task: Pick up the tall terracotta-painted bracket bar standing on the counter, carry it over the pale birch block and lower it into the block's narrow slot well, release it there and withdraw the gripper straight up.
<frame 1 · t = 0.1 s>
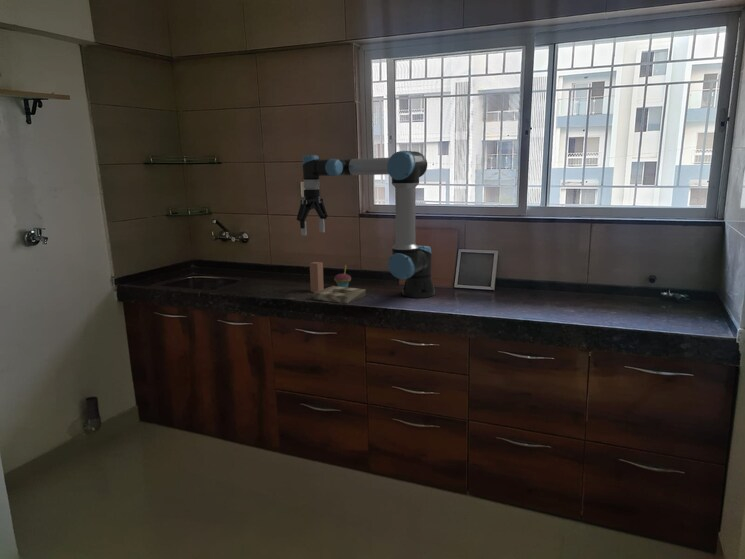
hand: (313, 233, 251), 28 cm above the worktop, fingers open, 13 cm apart
bracket bar: (317, 291, 254), on the worktop
cupcake: (342, 288, 261), on the worktop
well block: (340, 297, 241), on the worktop
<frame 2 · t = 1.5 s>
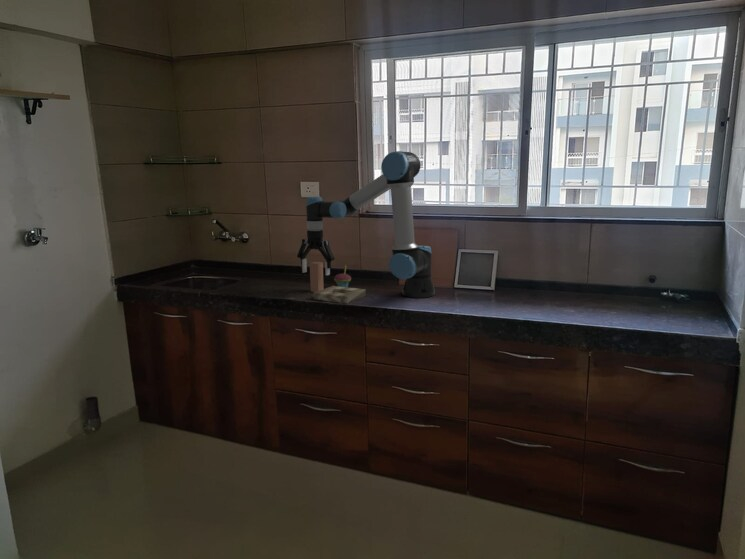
hand: (316, 273, 252), 9 cm above the worktop, fingers open, 13 cm apart
nothing on the worktop moved.
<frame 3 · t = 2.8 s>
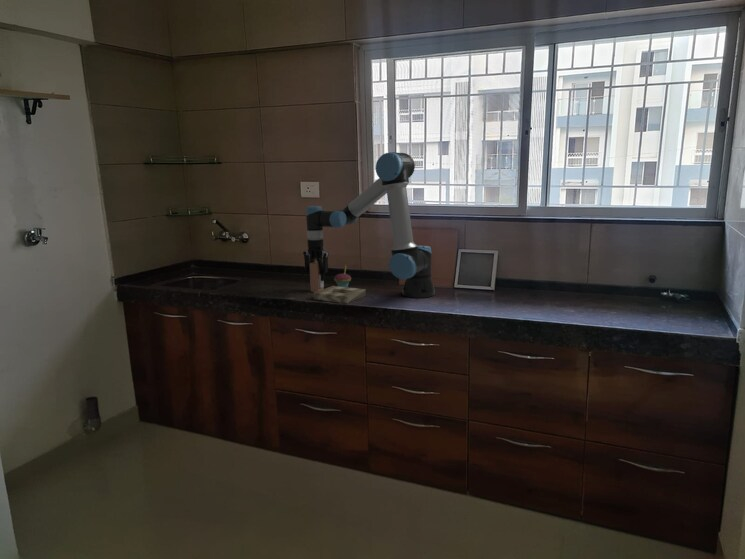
hand: (317, 286, 253), 2 cm above the worktop, fingers closed on bracket bar, 4 cm apart
bracket bar: (317, 291, 254), on the worktop, touching gripper
everything else where it was.
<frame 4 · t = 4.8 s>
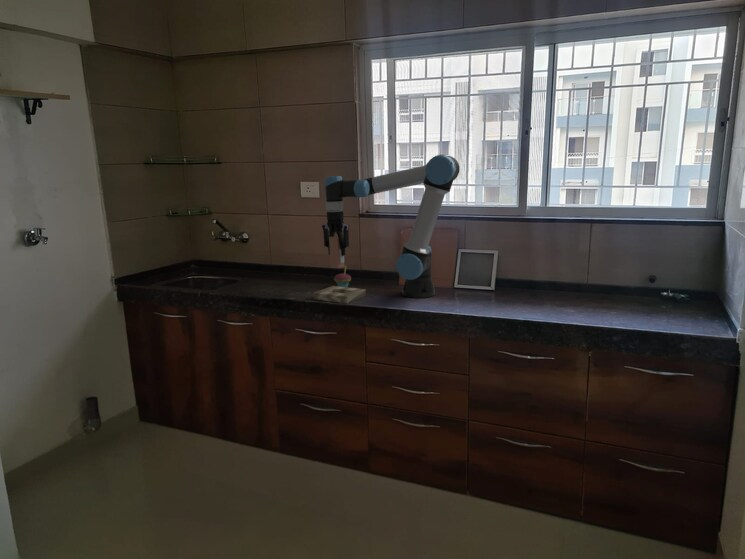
hand: (337, 262, 239), 16 cm above the worktop, fingers closed on bracket bar, 4 cm apart
bracket bar: (337, 267, 239), point 14 cm above the worktop, touching gripper
everything else where it was.
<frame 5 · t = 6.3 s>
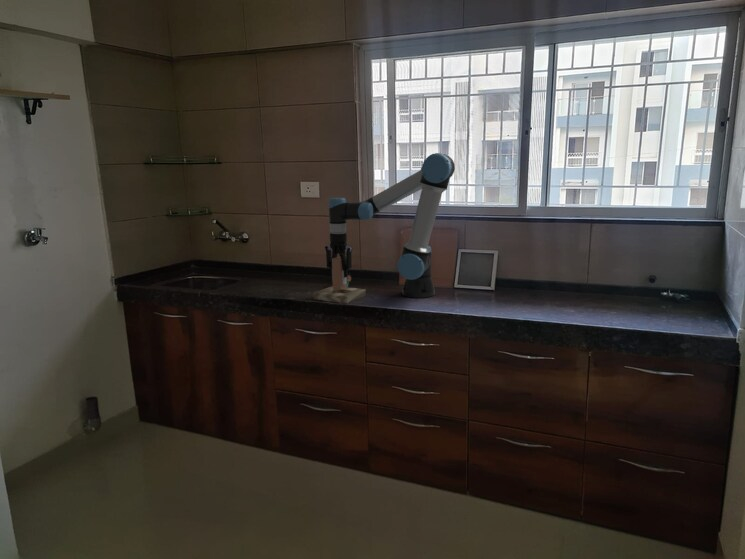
hand: (339, 283, 239), 7 cm above the worktop, fingers closed on bracket bar, 4 cm apart
bracket bar: (339, 288, 240), point 4 cm above the worktop, touching gripper
everything else where it was.
when the fingers open (3 cm above the worktop, at t = 7.2 s): bracket bar stays where it is, resting on well block.
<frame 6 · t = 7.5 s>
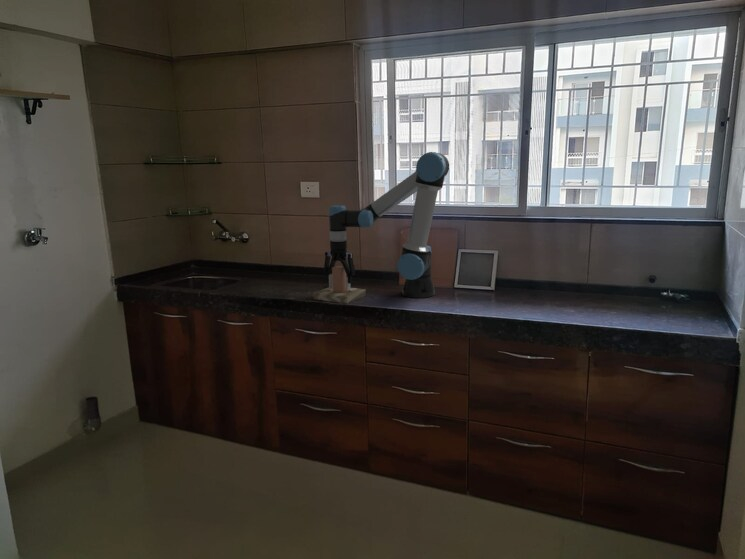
hand: (339, 289, 240), 4 cm above the worktop, fingers open, 8 cm apart
bracket bar: (340, 296, 240), resting on well block
everything else where it was.
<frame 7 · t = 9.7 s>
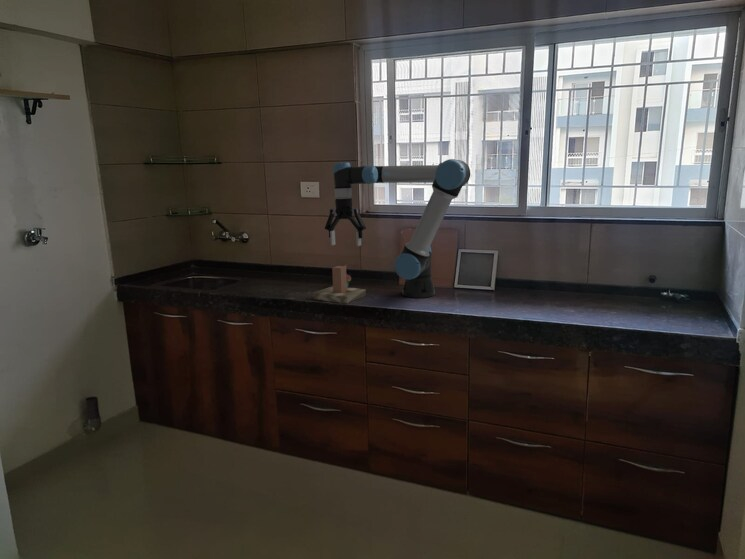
hand: (346, 245, 237), 24 cm above the worktop, fingers open, 13 cm apart
nothing on the worktop moved.
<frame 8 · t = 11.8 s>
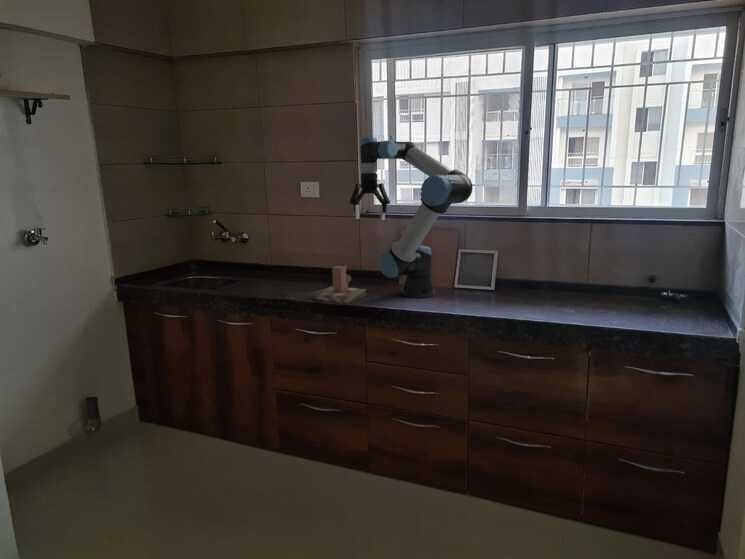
hand: (369, 219, 242), 35 cm above the worktop, fingers open, 13 cm apart
nothing on the worktop moved.
at the end: bracket bar 0.1 cm off-centre on the well block, point 0.2 cm above the well block's base; bracket bar tilted 0°; the gripper is holding nothing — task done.
